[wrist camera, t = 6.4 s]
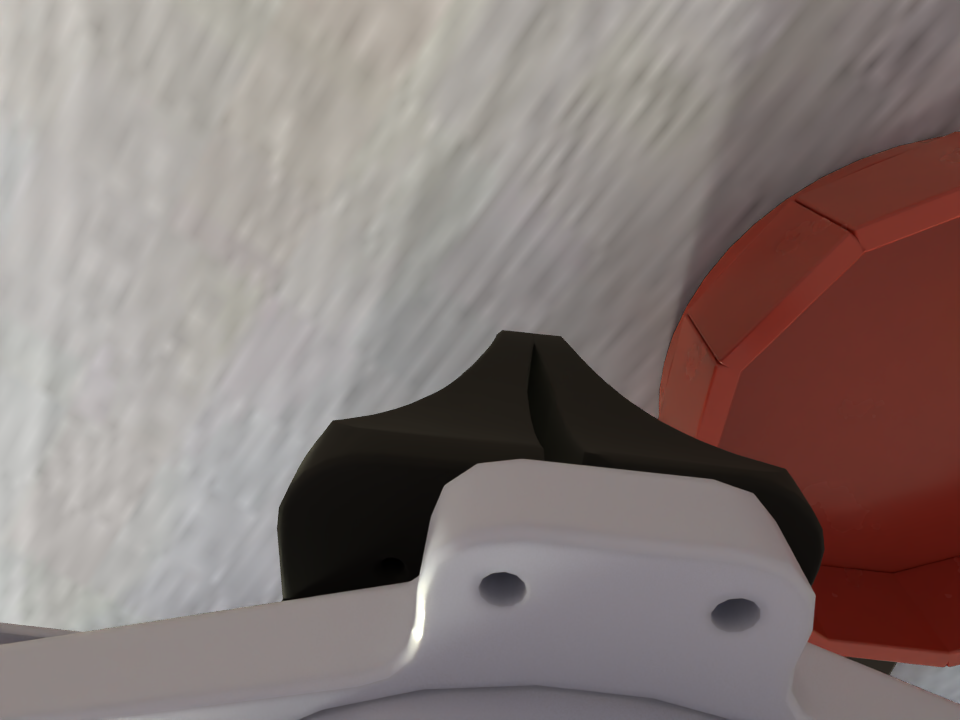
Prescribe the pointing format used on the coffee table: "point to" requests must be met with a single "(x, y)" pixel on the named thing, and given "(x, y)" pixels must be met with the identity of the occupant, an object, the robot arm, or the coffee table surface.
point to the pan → (848, 389)
